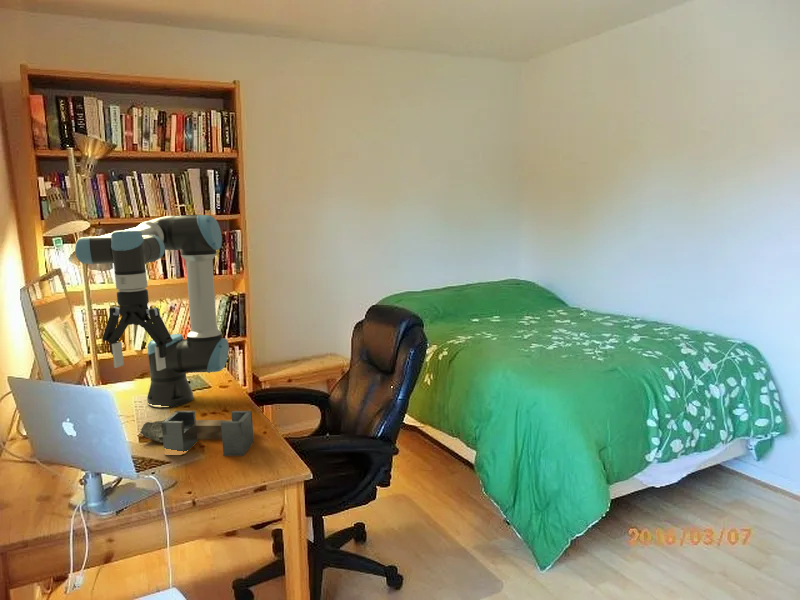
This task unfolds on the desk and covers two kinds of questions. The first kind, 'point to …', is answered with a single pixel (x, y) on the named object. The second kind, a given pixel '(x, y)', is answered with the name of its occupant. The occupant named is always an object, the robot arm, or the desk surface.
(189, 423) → the bracket
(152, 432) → the rock sample
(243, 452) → the bracket
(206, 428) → the rail
